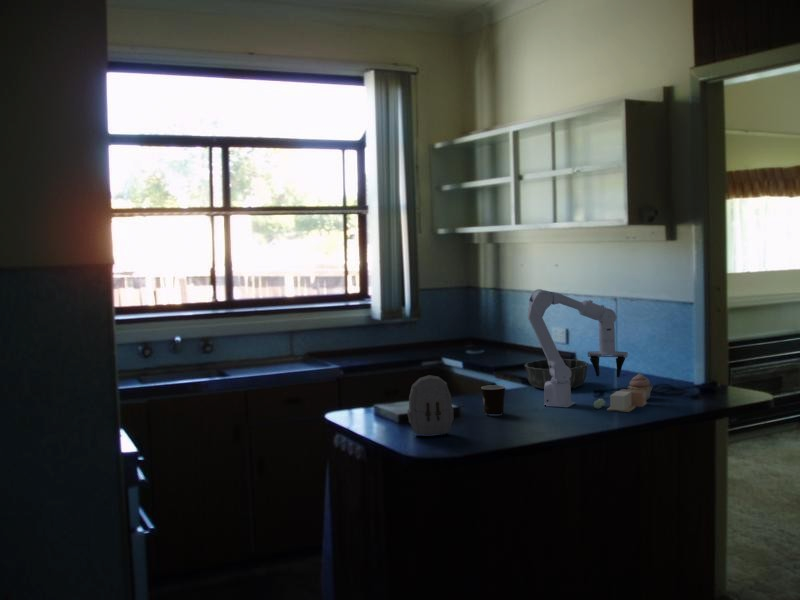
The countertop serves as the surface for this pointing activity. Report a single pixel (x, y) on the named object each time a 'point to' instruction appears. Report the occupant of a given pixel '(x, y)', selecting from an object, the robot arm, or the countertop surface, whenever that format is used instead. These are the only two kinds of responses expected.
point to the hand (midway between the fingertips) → (608, 376)
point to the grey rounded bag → (430, 406)
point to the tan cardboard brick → (637, 397)
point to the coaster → (622, 410)
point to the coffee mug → (493, 398)
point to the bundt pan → (541, 374)
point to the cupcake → (640, 384)
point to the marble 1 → (597, 404)
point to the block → (620, 400)
